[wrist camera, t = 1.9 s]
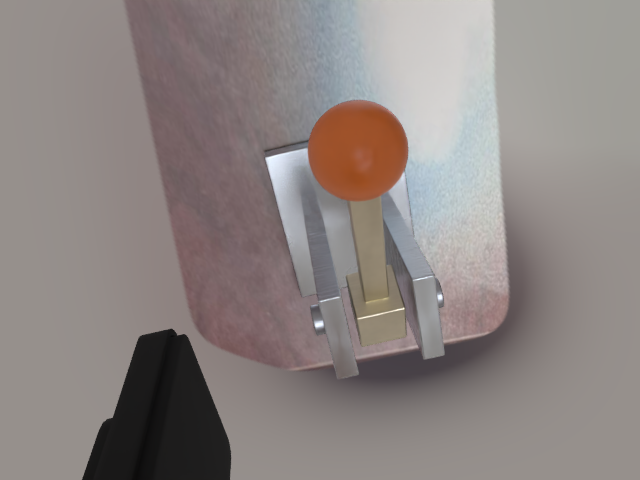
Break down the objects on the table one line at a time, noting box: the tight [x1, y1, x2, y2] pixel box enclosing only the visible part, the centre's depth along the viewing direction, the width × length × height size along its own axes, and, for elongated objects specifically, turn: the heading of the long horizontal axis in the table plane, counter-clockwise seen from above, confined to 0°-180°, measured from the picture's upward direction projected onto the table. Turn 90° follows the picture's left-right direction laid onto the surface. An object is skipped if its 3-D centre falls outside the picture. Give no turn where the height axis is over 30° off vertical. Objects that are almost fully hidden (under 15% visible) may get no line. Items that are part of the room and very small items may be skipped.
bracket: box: [265, 141, 445, 379], centre depth 30 cm, size 10×8×13 cm
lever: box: [308, 100, 408, 347], centre depth 22 cm, size 13×3×3 cm, turn 13°
